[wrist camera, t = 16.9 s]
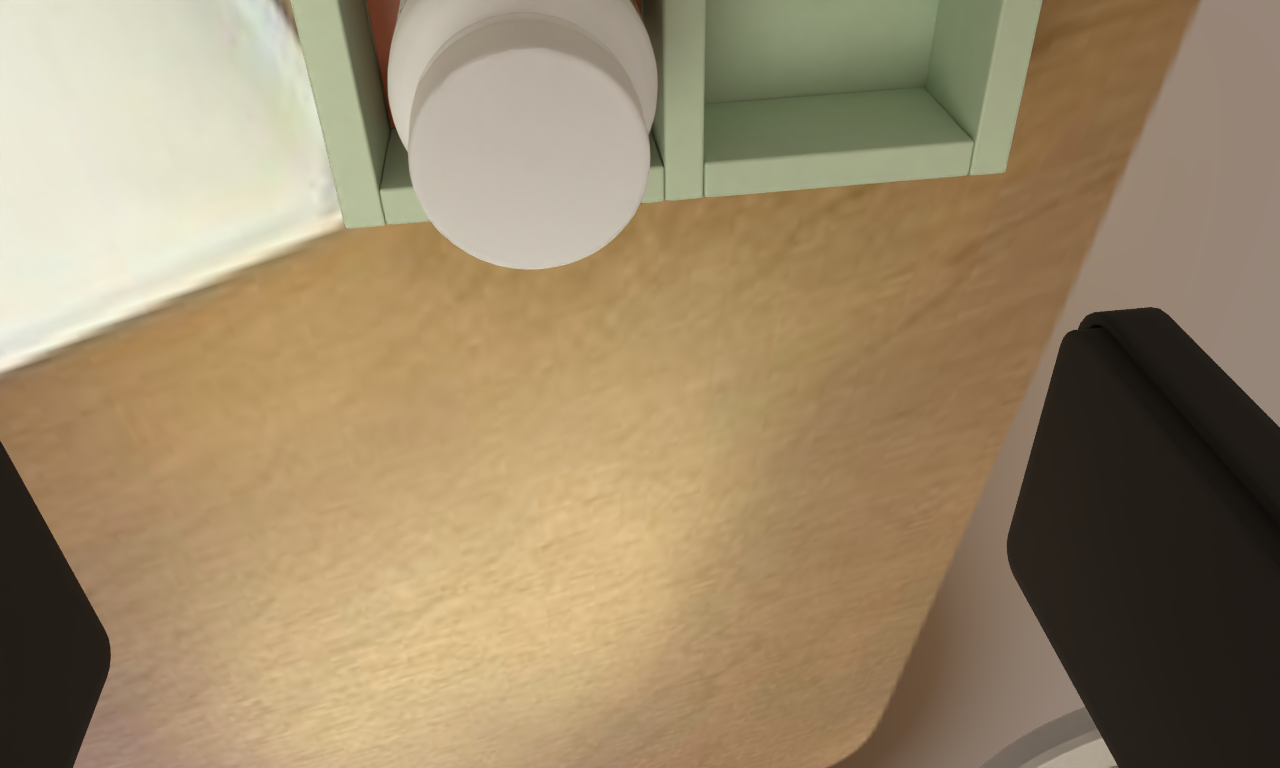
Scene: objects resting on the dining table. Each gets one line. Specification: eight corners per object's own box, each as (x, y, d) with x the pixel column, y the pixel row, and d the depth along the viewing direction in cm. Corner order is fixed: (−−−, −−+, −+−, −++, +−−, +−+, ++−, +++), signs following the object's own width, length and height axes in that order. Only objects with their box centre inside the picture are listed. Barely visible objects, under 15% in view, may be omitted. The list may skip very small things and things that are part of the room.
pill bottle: (661, -58, 20) (741, 87, 14) (572, 134, 22) (606, 334, 16) (449, -164, 18) (432, -51, 12) (377, 55, 20) (331, 242, 14)
